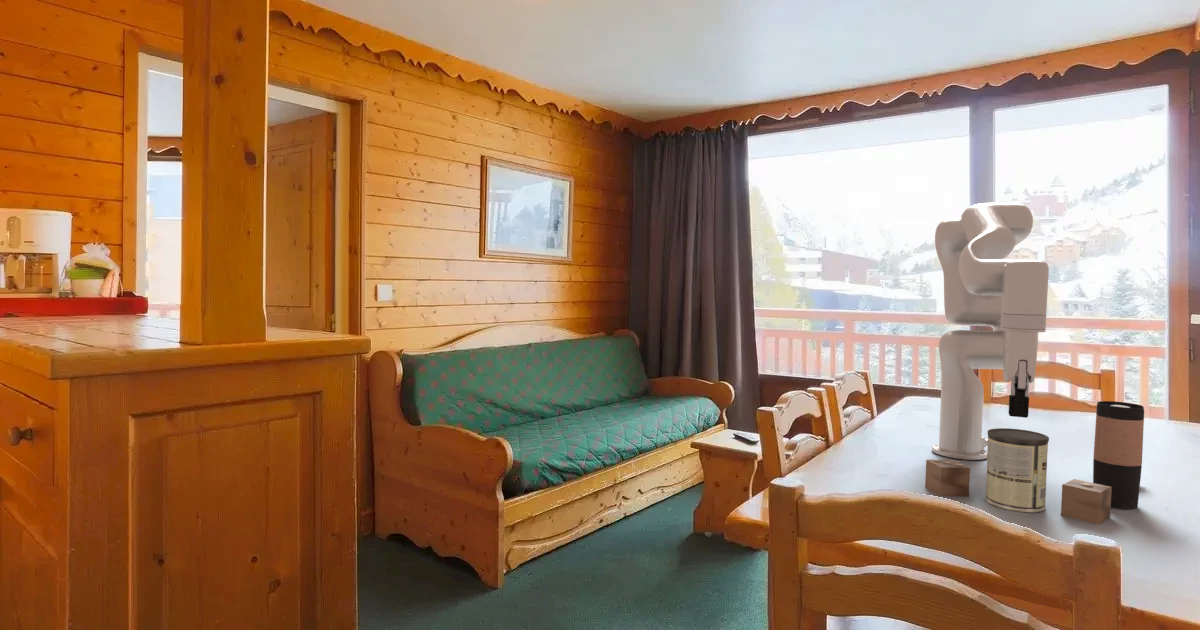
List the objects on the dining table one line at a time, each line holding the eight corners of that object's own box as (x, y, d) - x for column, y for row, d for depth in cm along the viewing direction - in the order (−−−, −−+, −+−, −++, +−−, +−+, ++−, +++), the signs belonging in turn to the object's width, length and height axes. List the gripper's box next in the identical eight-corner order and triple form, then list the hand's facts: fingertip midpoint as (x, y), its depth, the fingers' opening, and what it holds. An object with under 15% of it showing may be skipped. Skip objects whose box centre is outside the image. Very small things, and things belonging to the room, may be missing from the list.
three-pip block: (952, 487, 144) (953, 458, 144) (968, 496, 138) (970, 466, 138) (925, 487, 144) (926, 458, 144) (940, 496, 138) (941, 466, 138)
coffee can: (982, 492, 140) (985, 425, 139) (1040, 500, 136) (1044, 431, 135) (987, 507, 131) (990, 436, 130) (1050, 516, 127) (1053, 442, 126)
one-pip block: (1072, 509, 131) (1074, 478, 131) (1109, 518, 126) (1111, 485, 126) (1060, 515, 127) (1062, 483, 127) (1098, 525, 123) (1100, 491, 122)
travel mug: (1081, 497, 138) (1086, 400, 137) (1116, 497, 138) (1121, 400, 137) (1113, 510, 130) (1118, 408, 129) (1149, 510, 131) (1155, 408, 130)
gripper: (998, 320, 140) (994, 407, 141) (1002, 325, 127) (997, 421, 128) (1042, 321, 136) (1037, 411, 137) (1050, 326, 123) (1044, 425, 124)
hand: (1018, 415), depth 133 cm, fingers closed
